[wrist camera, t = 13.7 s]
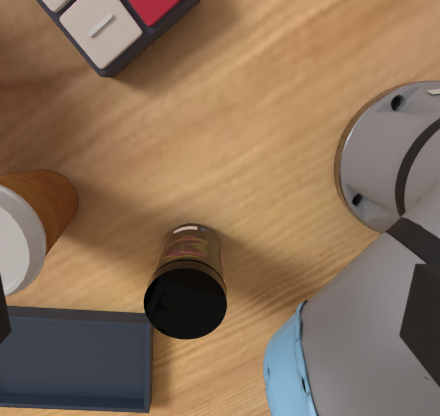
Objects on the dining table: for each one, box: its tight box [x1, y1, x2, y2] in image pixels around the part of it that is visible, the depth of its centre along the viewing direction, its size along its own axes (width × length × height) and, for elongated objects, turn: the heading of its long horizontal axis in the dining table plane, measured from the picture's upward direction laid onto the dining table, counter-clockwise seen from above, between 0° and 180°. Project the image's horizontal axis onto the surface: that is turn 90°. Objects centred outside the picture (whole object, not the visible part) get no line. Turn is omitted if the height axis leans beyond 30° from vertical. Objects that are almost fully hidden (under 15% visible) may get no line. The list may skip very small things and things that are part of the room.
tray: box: [0, 306, 153, 413], centre depth 40 cm, size 21×13×2 cm, turn 86°
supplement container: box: [144, 224, 227, 339], centre depth 32 cm, size 7×7×10 cm
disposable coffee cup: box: [0, 170, 78, 296], centre depth 29 cm, size 10×10×12 cm
